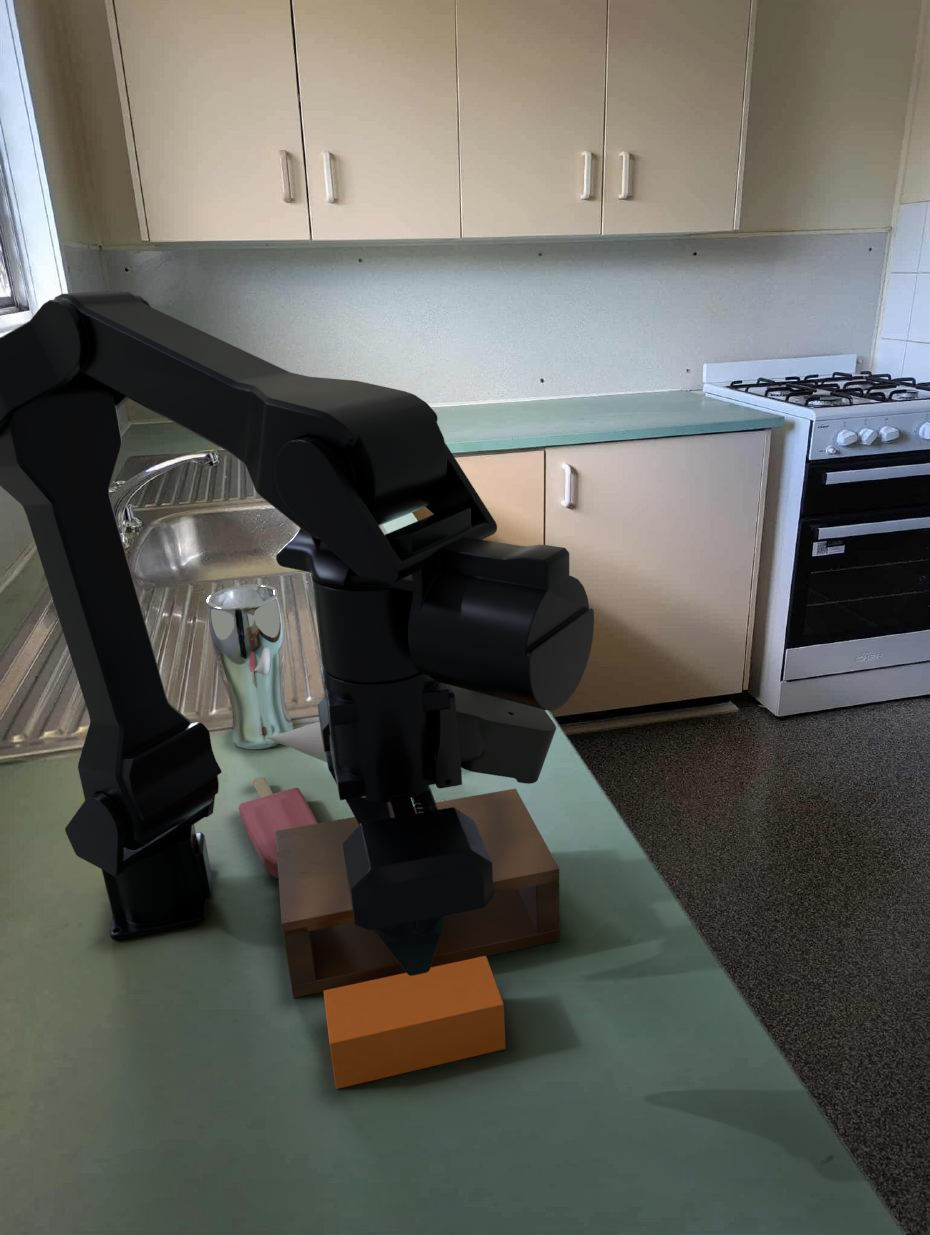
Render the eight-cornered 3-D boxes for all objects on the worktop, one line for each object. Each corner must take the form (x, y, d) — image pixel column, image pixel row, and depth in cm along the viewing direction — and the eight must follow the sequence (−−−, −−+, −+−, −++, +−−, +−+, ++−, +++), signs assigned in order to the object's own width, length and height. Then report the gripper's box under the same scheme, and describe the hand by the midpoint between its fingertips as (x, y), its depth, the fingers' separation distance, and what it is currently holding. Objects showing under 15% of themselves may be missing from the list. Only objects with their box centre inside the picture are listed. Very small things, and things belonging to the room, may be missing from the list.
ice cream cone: (265, 776, 81) (426, 782, 83) (261, 766, 75) (435, 773, 77) (270, 711, 82) (428, 718, 85) (267, 696, 77) (436, 705, 79)
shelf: (293, 998, 56) (281, 923, 54) (285, 898, 65) (275, 830, 63) (560, 941, 59) (559, 868, 57) (517, 853, 69) (515, 788, 66)
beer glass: (214, 746, 87) (188, 605, 81) (253, 714, 93) (232, 580, 87) (274, 756, 84) (252, 612, 79) (311, 723, 90) (293, 586, 84)
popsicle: (285, 763, 80) (337, 851, 67) (287, 778, 80) (339, 868, 68) (227, 779, 78) (268, 874, 65) (229, 794, 78) (271, 891, 66)
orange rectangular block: (336, 1089, 49) (329, 1043, 48) (329, 1034, 53) (323, 990, 52) (505, 1049, 51) (504, 1004, 50) (488, 998, 55) (486, 955, 54)
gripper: (606, 721, 36) (601, 1008, 42) (489, 579, 53) (497, 798, 59) (336, 765, 34) (371, 1061, 40) (304, 602, 51) (332, 827, 57)
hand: (403, 912), depth 49 cm, fingers open, 9 cm apart
